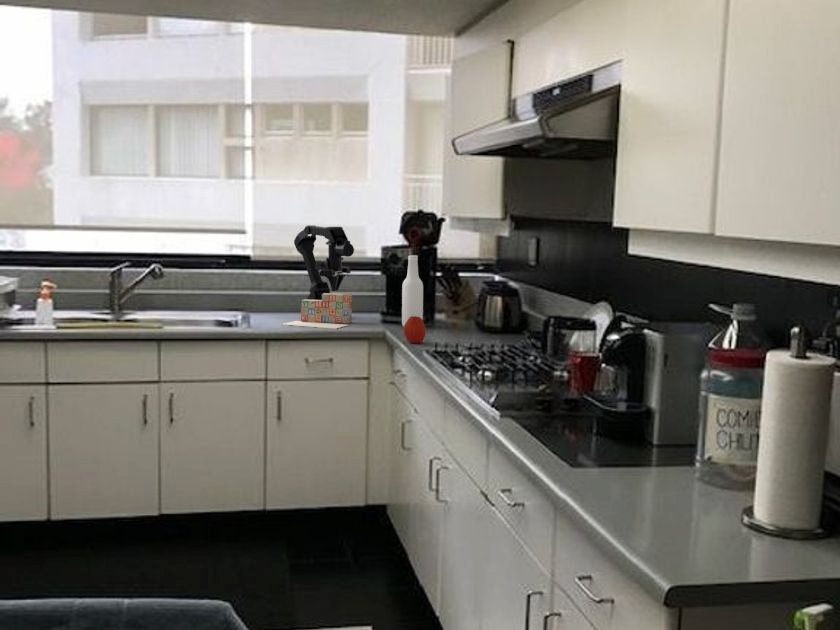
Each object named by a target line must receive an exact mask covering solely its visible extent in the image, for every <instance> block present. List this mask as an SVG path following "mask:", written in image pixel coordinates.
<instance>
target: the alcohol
mask: <svg viewBox="0 0 840 630" xmlns="http://www.w3.org/2000/svg"><path fill="white" fill-rule="evenodd" d="M418 257H419V256H418V255H417V254H416V255H415V254H414V255H413V254H411V255H408V258H407V259H408V261H407V263H408V265H407V275H406V278H404V280H403V281H402V285H401V286H402V287H401V288H402V289H401V297H402V298H401V304H402V305H401V325H402V327H403V328H404V326H405V323H406V322H407V320H408V319H409V318H410V317H411V316H417V317H420V318H421V319H422V320H424V318H423V317H424V316H423V315H424V284H423V281H422V280H421V278H420V276H419V265H418V264H419V263H418V260H419V258H418Z"/></svg>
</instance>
